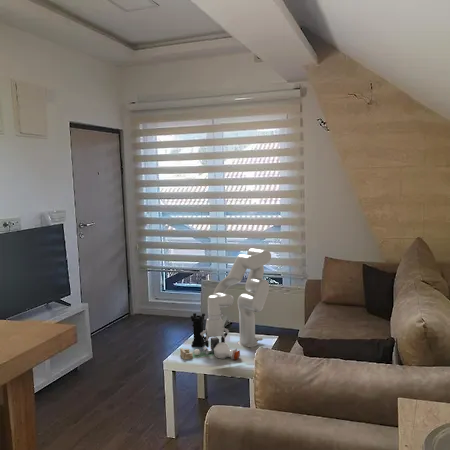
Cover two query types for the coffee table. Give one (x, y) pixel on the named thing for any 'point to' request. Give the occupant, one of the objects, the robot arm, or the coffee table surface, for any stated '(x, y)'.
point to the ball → (196, 351)
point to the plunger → (213, 343)
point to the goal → (186, 354)
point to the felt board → (201, 355)
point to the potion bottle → (225, 351)
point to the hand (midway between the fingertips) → (215, 345)
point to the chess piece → (198, 330)
